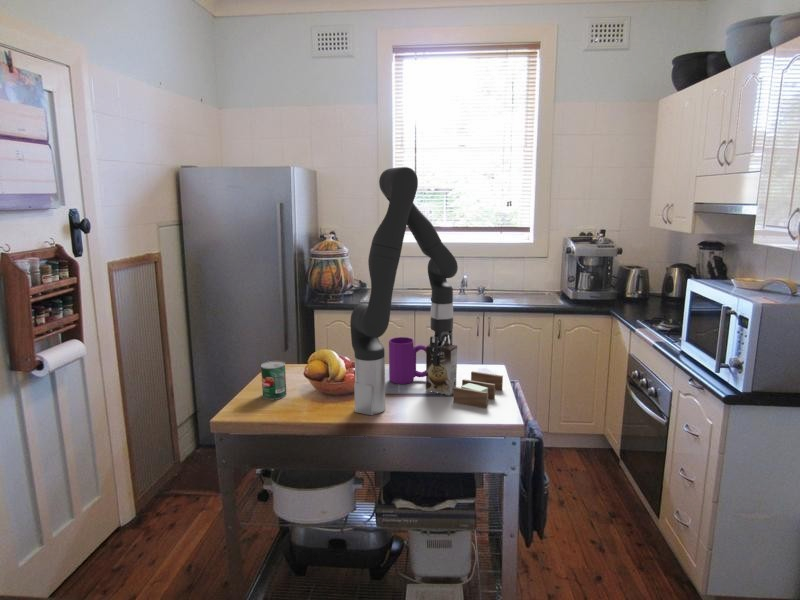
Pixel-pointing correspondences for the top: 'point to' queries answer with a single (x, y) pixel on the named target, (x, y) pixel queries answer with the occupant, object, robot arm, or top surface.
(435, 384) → the coffee box
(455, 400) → the rack
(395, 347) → the mug
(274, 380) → the canned tomato
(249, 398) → the top surface
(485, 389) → the offcut upper
